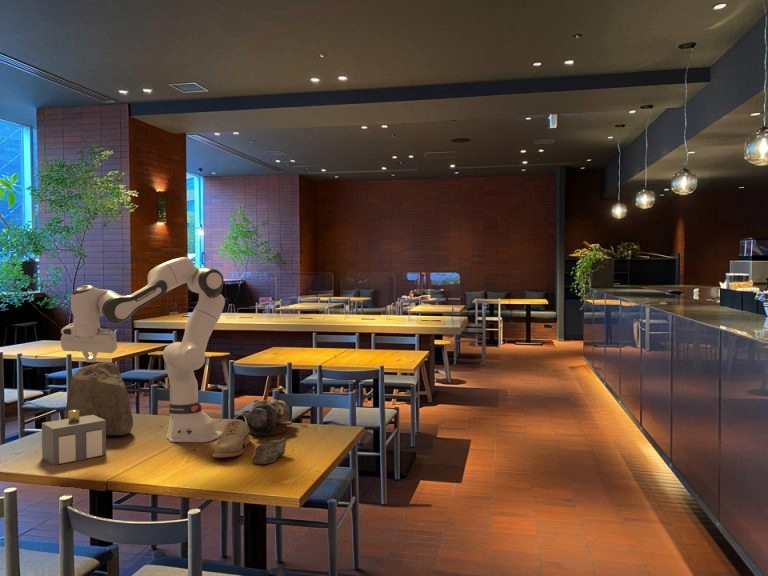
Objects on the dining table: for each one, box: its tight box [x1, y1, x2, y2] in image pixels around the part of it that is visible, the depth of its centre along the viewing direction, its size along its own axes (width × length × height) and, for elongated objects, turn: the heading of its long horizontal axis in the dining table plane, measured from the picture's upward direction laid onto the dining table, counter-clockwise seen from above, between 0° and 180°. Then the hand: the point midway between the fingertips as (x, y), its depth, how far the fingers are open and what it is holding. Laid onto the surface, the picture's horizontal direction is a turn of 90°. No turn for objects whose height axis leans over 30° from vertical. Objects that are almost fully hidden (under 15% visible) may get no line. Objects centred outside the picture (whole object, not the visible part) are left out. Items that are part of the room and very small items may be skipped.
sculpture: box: [240, 398, 292, 438], centre depth 255 cm, size 25×21×14 cm
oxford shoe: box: [212, 414, 251, 459], centre depth 228 cm, size 11×32×12 cm, turn 4°
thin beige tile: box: [58, 434, 77, 465], centre depth 218 cm, size 12×5×9 cm, turn 45°
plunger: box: [85, 430, 103, 459], centre depth 225 cm, size 12×5×9 cm, turn 45°
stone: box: [64, 361, 134, 437], centre depth 260 cm, size 25×34×30 cm
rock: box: [251, 437, 287, 465], centre depth 217 cm, size 17×7×10 cm
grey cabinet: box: [41, 415, 107, 466], centre depth 222 cm, size 13×18×13 cm
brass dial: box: [68, 410, 79, 423], centre depth 222 cm, size 4×4×4 cm
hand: (91, 361), depth 230 cm, fingers closed
